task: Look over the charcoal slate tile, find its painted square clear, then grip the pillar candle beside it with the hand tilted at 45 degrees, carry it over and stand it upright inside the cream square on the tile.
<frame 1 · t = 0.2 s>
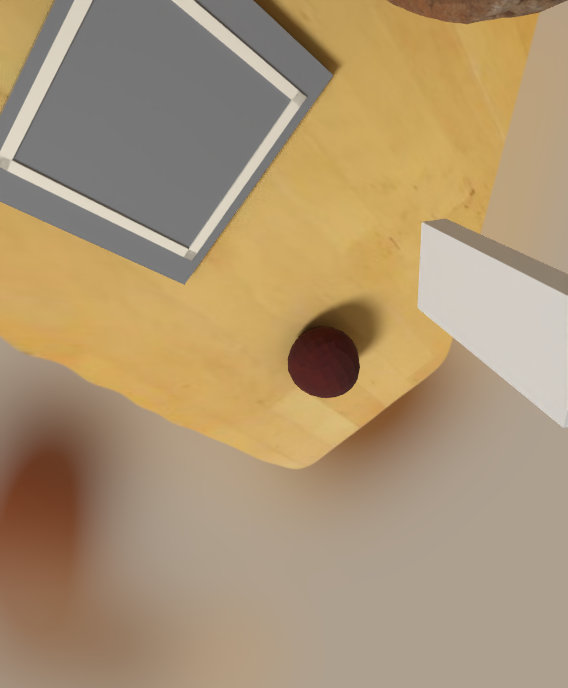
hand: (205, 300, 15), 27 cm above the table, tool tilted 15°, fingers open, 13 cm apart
slate tile: (156, 123, 37), on the table
potato: (312, 346, 57), on the table
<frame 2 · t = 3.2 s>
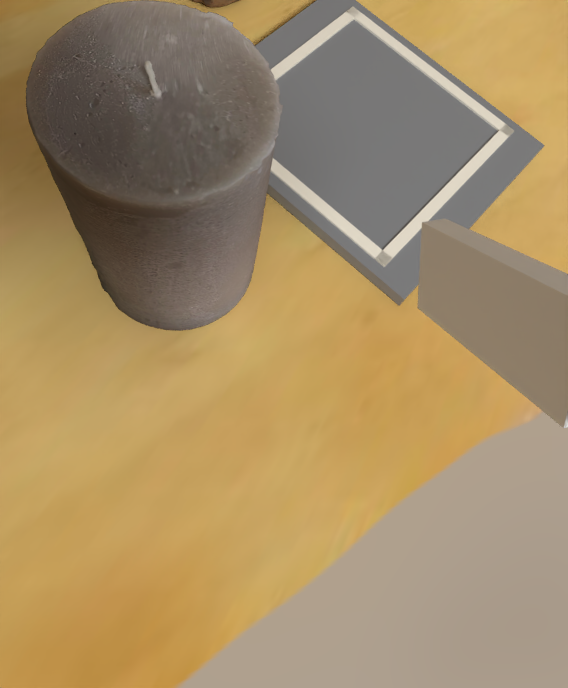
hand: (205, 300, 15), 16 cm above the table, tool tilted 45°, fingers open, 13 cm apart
pillar candle: (180, 260, 33), on the table
slate tile: (363, 135, 38), on the table
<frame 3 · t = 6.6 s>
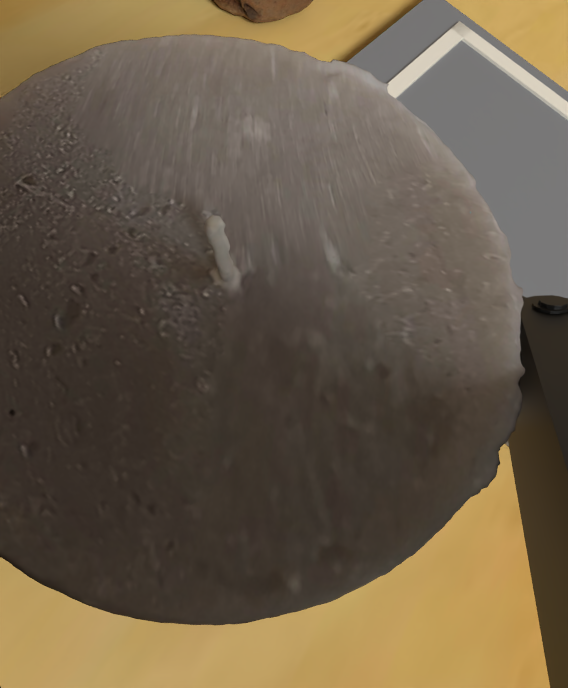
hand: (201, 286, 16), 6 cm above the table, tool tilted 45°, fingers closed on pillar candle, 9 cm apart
pillar candle: (221, 426, 21), on the table, touching gripper
slate tile: (483, 213, 25), on the table
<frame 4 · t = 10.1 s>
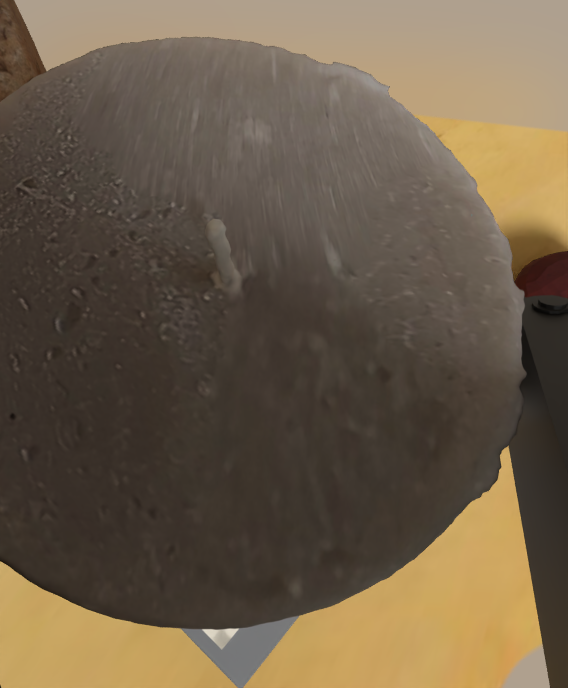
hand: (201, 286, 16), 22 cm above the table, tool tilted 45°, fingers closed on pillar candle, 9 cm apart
pillar candle: (221, 428, 21), point 15 cm above the table, touching gripper
slate tile: (219, 462, 35), on the table
block: (63, 254, 39), on the table
potato: (546, 315, 42), on the table
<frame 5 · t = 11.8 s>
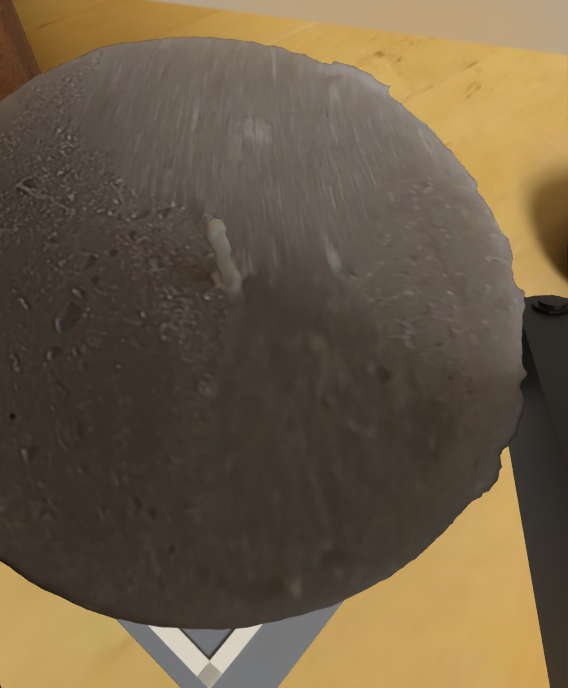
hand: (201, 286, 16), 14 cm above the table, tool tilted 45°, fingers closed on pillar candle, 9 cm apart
pillar candle: (221, 428, 21), point 7 cm above the table, touching gripper
slate tile: (209, 446, 28), on the table
block: (17, 190, 31), on the table
when the fingers open (9 cm above the table, at t = 13.6 s): pillar candle drops 1 cm, resting on slate tile.
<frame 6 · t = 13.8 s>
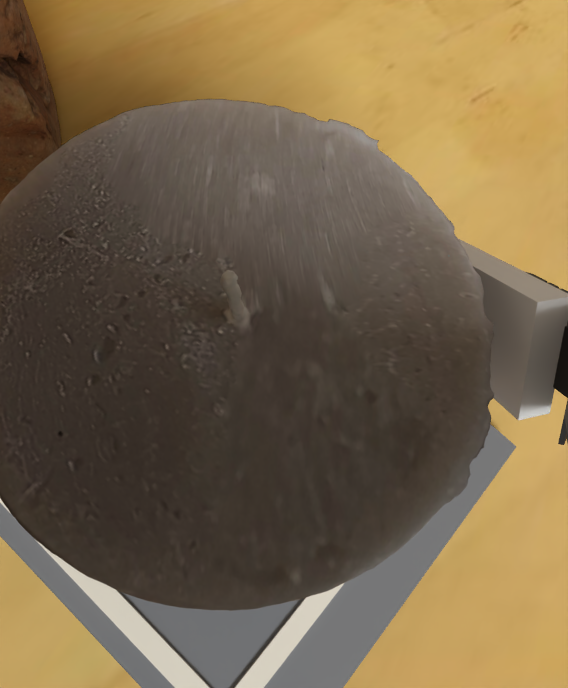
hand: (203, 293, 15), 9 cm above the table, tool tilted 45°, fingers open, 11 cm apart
pillar candle: (227, 433, 22), point 1 cm above the table, touching slate tile
slate tile: (220, 435, 23), on the table
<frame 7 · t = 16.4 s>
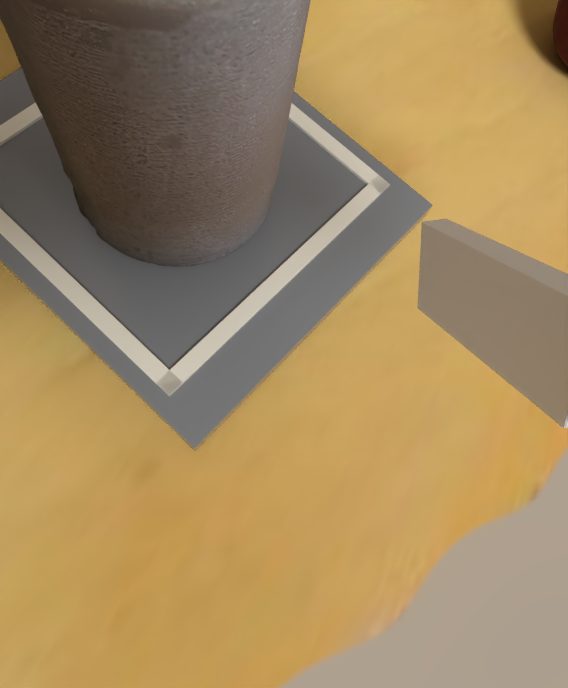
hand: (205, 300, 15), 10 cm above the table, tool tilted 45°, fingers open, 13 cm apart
pillar candle: (180, 182, 26), point 1 cm above the table, touching slate tile
slate tile: (175, 191, 27), on the table
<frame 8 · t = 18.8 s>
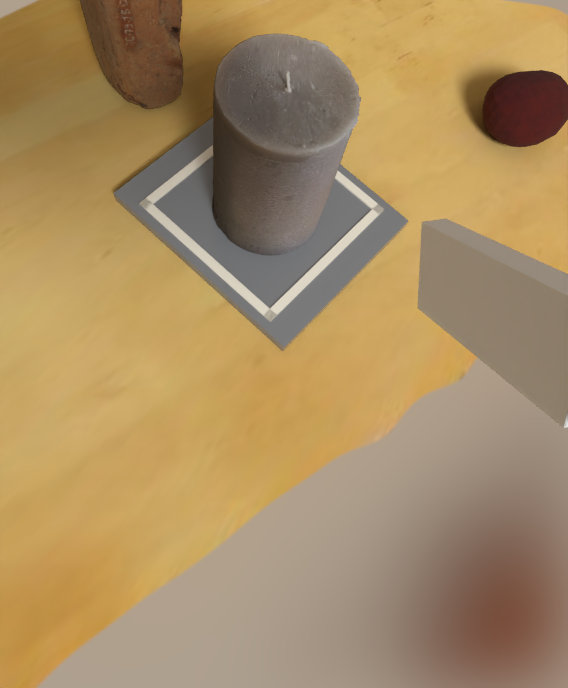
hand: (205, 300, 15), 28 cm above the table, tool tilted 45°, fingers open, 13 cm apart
pillar candle: (268, 209, 47), point 1 cm above the table, touching slate tile
slate tile: (264, 213, 48), on the table
block: (142, 73, 51), on the table
potato: (512, 131, 55), on the table
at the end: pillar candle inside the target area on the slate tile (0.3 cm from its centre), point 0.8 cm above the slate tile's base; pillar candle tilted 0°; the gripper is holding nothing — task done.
